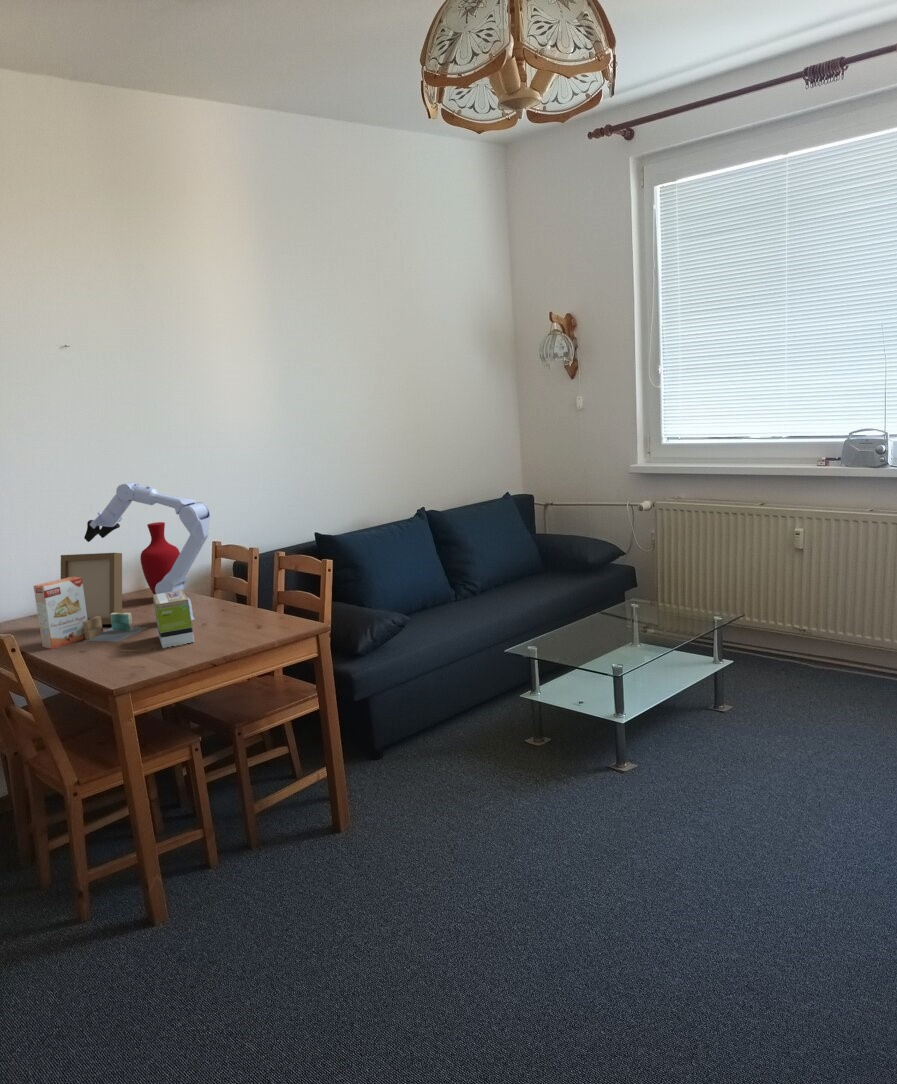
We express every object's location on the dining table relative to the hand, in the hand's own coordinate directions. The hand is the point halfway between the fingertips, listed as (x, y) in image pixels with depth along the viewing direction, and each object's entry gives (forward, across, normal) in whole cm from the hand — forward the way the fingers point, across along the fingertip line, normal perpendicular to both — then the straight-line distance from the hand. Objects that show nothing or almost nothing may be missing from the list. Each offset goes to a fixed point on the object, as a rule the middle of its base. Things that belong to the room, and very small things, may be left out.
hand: (93, 537), depth 296 cm
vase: (+19, -33, +24) cm, 45 cm away
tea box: (-8, +19, +50) cm, 55 cm away
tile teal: (+11, +10, +32) cm, 35 cm away
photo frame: (+23, -1, +20) cm, 31 cm away
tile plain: (+15, +17, +28) cm, 36 cm away
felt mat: (+11, +14, +32) cm, 37 cm away
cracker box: (+20, +23, +24) cm, 39 cm away
